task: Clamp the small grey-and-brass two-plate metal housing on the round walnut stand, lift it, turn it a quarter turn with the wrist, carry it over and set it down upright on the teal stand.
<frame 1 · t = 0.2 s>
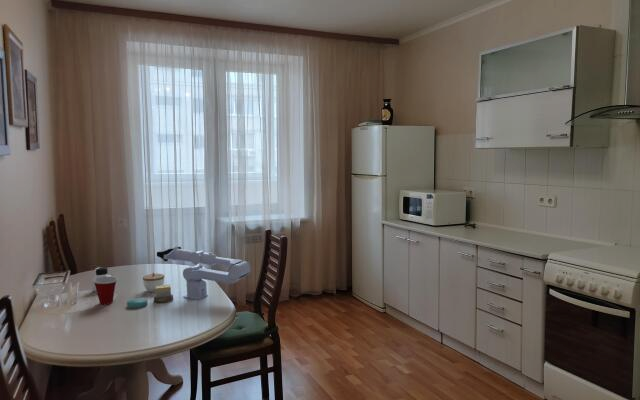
hand: (162, 252, 244), 21 cm above the table, tool horizontal, fingers open, 7 cm apart
lidded jar: (154, 290, 250), on the table
housing: (163, 296, 232), point 2 cm above the table, touching stand a
plastic cup: (106, 303, 230), on the table
stand a: (163, 300, 233), on the table
medicine bottle: (102, 290, 252), on the table
stand b: (137, 305, 225), on the table
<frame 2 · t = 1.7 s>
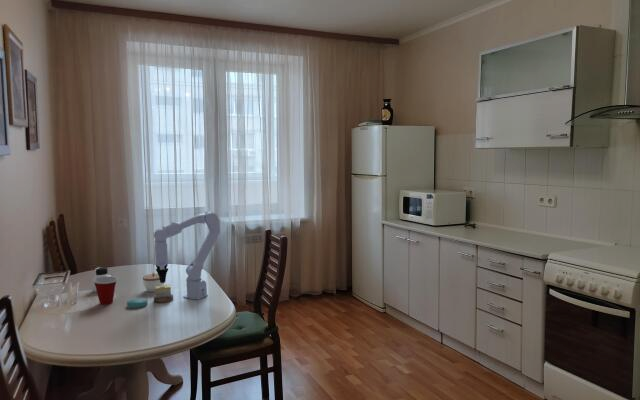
hand: (162, 280, 232), 10 cm above the table, tool pointing down, fingers open, 7 cm apart
nothing on the table moved.
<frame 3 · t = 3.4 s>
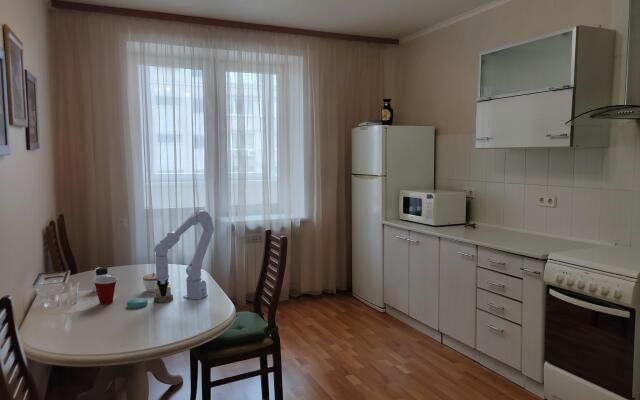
hand: (163, 294, 232), 3 cm above the table, tool pointing down, fingers closed on housing, 4 cm apart
housing: (163, 296, 232), point 2 cm above the table, touching gripper, stand a
everything else where it was.
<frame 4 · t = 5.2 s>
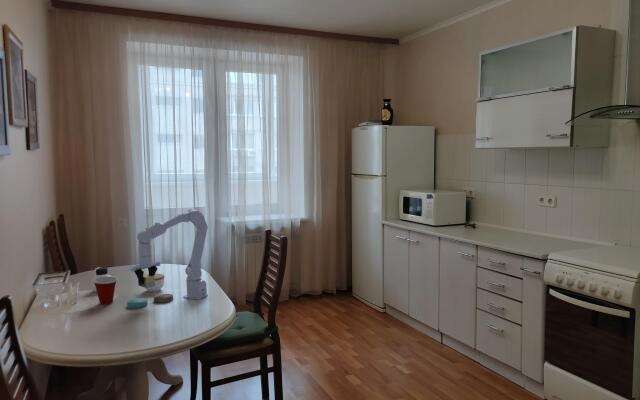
hand: (146, 283, 227), 10 cm above the table, tool pointing down, fingers closed on housing, 5 cm apart
housing: (146, 285, 227), point 9 cm above the table, touching gripper
everything else where it was.
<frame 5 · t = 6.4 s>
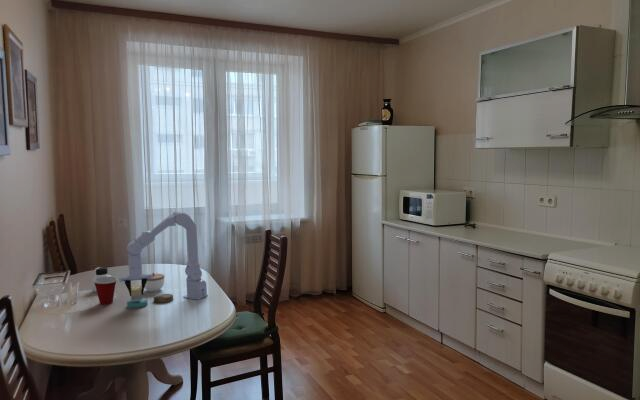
hand: (136, 294, 225), 5 cm above the table, tool pointing down, fingers closed on housing, 4 cm apart
housing: (136, 297, 225), point 4 cm above the table, touching gripper
everything else where it was.
when the fingers open (4 cm above the table, at t = 7.4 s): housing stays where it is, resting on stand b.
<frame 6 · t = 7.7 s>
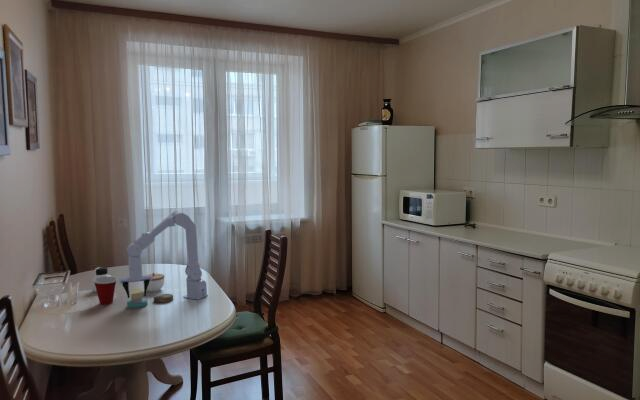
hand: (136, 296, 225), 4 cm above the table, tool pointing down, fingers open, 7 cm apart
housing: (137, 301, 225), point 2 cm above the table, touching stand b
everything else where it was.
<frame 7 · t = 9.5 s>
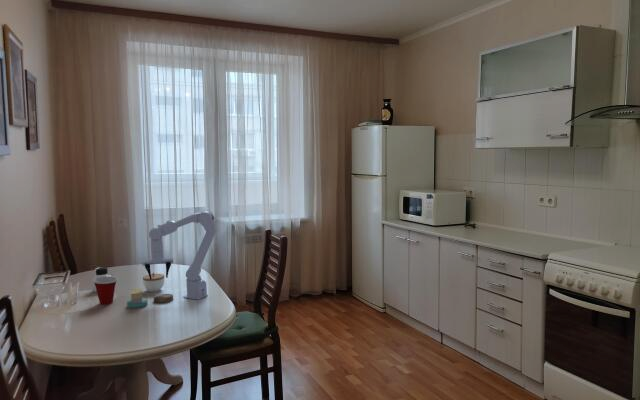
hand: (158, 278, 235), 10 cm above the table, tool pointing down, fingers open, 7 cm apart
nothing on the table moved.
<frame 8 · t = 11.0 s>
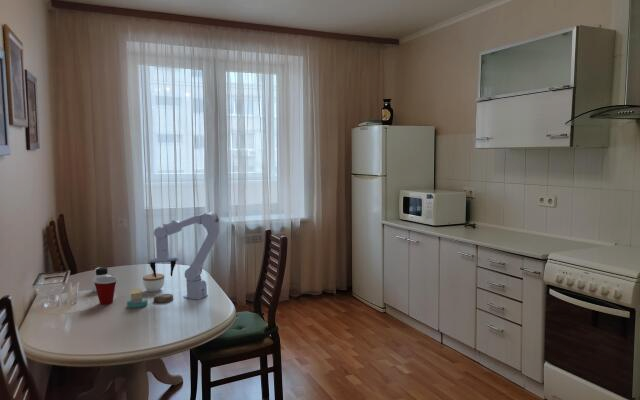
hand: (163, 276, 238), 10 cm above the table, tool pointing down, fingers open, 7 cm apart
nothing on the table moved.
at the end: housing 0.1 cm off-centre on the stand b, point 2.0 cm above the stand b's base; housing tilted 0°; the gripper is holding nothing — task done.
